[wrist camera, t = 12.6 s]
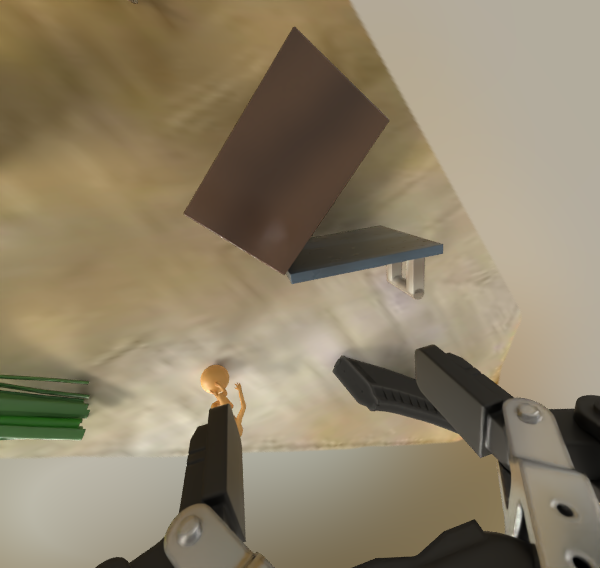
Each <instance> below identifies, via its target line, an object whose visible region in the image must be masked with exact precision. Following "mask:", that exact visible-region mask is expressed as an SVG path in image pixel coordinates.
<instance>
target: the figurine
mask: <svg viewBox="0 0 600 568" xmlns="http://www.w3.org/2000/svg"><path fill="white" fill-rule="evenodd" d="M228 383H229V374H228V371H227V370H226V369H225V368H224V367H223V366H220V365H212V366H209V367H208V368H206V369H205V370H204V372H203V373H202V376H201V385H202V387H203V389H204V390H205V391H206V392H208V393H211V394H214V395H215V396H216V398H217V399H218V401H216V402H215V403H213V404H212V406H211V408H214V407H217V406H220V405H224V404H228V403H229V404H230V406H231V409H232V408H233V404H232V403H231V402H230V401H229V400H228V398H227V397H226V396H227V391H226V389H225V388H226V387H227V385H228ZM237 384H238V383H237ZM235 385H236V384H235ZM236 386H237V388H235V389H237V390H239V397H240V401H241V406H242V408H241V410H240V412H239V414H238V416H237V418H236V417H235V416H234V418H235V421H236V424H237V427H238V430H239V434H240V437H241V435H242V432H243V428H242V425H241V422H242V417H243V415H244V412H245V409H246V404H245V401H244V397H243V394H242V390H241V385H240V383H239V384H238V385H236ZM221 391H222V393H220V394H218V393H219V392H221Z"/></svg>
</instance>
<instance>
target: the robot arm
mask: <svg viewBox="0 0 600 568" xmlns="http://www.w3.org/2000/svg"><path fill="white" fill-rule="evenodd" d="M415 373H416V382H417V385H418V387H419V389H420V391H421V392H422V393H423V395H424V396H425V397H426V398H427V399H428V400H429V401H430V402H431V403H432V405H433V406H434V407H435V408H436V409H437V410H438V411H439V412H440V413H441V415H442V416H443V417H444V418H445V419H446V420H447V421H448V422H449V423H450V424H451V426H452V427H453V428H454V429H455V430H456V431H457V432H458V433H459V434H460V436H461V437H462V438H463V439H464V440H465V441H466V442H467V443H468V444H469V446H470V447H472V449H473V450H474V451H475V452H476V453H477V454H478V456H479V457H480V458H481V457H484V456H487V455H490V454H493V455H494V456H495V457H496V458H497V471H498V477H499V485H500V491H501V498H502V505H503V510H504V519H505V534H502V533H497V532H489V531H483V530H482V529H481V527H480V526H479V524H478V523H477V522H476V520H472V521H469V522H467V523H464V524H461V525H459V526H456V527H454V528H452V529H449V530H446V531H444V532H443V533H442V534H440V535H439V536H438V537H437V538H436V539H435V540H434V541H433V542H432V543H430V544H429V545H428V546H427V547H426V548H425V549H424V550H423V551H422V552H420V553H419V554H418V555H416V556H413V557H394V558H375V559H373V560H370V561H368V562H365V563H363V564H360V565H358V566H355V567H353V568H600V504H599V503H600V396H595V395H586V396H582V397H580V398H578V399H577V401H576V405H575V409H547V408H546V407H545V406H543V405H542V404H540V403H537V402H535V401H532V400H529V399H525V398H514V397H512V396H511V395H510V394H509V393H507V392H506V391H505V390H503V389H502V388H501V387H499V386H498V385H497V384H496V383H494V382H493V381H492V380H490V379H489V378H488V377H486V376H485V375H484V374H481V372H480V371H479V370H477V369H476V368H475V367H474V368H473V366H472V365H471V364H469V363H468V362H467V361H465V360H464V359H463V358H461V357H459V356H456V355H454V354H451V353H444V352H443V351H442V350H441V349H439V348H438V347H437V346H435V345H429V346H426V347H422V348H419V349H416V351H415ZM245 539H246V538H245V515H244V490H243V464H242V445H241V439H240V434H239V430H238V427H237V424H236V421H235V418H234V415H233V412H232V409H231V406H230V404H229V403H228V404H224V405H221V406H217V407H214V408H211V409H210V410H209V417H208V424H206V425H202V426H199V427H198V428H197V429H196V431H195V433H194V435H193V436H192V438H191V440H190V447H189V455H188V459H187V467H186V472H185V479H184V485H183V491H182V498H181V504H180V510H179V514H178V515H177V516H176V517H175V518H174V520H173V521H172V523H171V524H170V526H169V527H168V530H167V532H166V535H165V537H164V538H163V539H162V540H161V541H160V542H158V543H157V544H156V545H155V546H153V547H152V548H150V549H149V550H147V551H146V552H145V553H143V554H142V555H140V556H139V557H137V558H136V559H135V560H133V561H132V562H130V563H129V562H128V561H127V560H125V559H124V558H120V557H116V558H111V559H109V560H106V561H104V562H103V563H101V564H100V565H98V566H97V567H96V568H275V567H273V565H272V564H271V563H270V562H269V561H268V560H267V559H266V558H265V557H264V556H263V555H262V554H260V553H258V552H256V553H253V552H252V551H251V550H249V548H248V547H247V546H246V545H245V544H244V543H243V542H245V541H246V540H245Z"/></svg>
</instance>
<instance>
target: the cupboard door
mask: <svg viewBox="0 0 600 568" xmlns="http://www.w3.org/2000/svg"><path fill="white" fill-rule="evenodd" d="M438 254H443V244H440V243H437V242H434V241H430V240H427V239H424V238H420V237H417V236H414V235H410V234H407V233H404V232H400V231H397V230H393V229H390V228H387V227H383V226H375V227H370V228H364V229H358V230H353V231H347V232H342V233H336V234H330V235H325V236H319V237H314V238H310V239H309V240H308V242H307V243H306V245H305V246H304V248H303V249H302V250H301V252H300V253H299V255H298V256H297V258H296V259H295V261H294V262H293V264H292V265H291V267H290V268H289V270H288V271H287V273H286V275H287V277H288V278H289V280H290V282H291V283H292V284H294V283H299V282H304V281H309V280H314V279H319V278H324V277H329V276H334V275H339V274H344V273H349V272H354V271H359V270H364V269H369V268H374V267H379V266H384V265H386V271H387V281H388V282H389V283H391V284H392V285H394V286H395V287H397V288H398V289H400V290H402V291H403V292H405V293H406V294H408V295H409V296H411V297H412V298H414V299H421V298H422V297H423V295H424V270H425V257H428V256H433V255H438ZM404 261H406V279H404V278H403V277H402V262H404Z"/></svg>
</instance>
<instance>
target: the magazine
mask: <svg viewBox="0 0 600 568" xmlns="http://www.w3.org/2000/svg"><path fill="white" fill-rule="evenodd" d="M334 367H335V368H334V369H333V373H334V374H335V375H336V376H337V378H338V379H339V380H340V381H341V383H342V384H343V385H344V386H345V387H346V389H347V390H348V391H349V392H350V394H351V395H352V396H353V397H354V398H355V400H356V401H357V402H358V403H359V404H361V405H364V406H367V407H368V409H369V410H370V411H386V412H391V413H396V414H400V415H404V416H407V417H411V418H414V419H418V420H422V421H425V422H428V423H431V424H434V425H437V426H439V427H442V428H445V429H448V430H450V431H453V432H455V433H458V432H457V431H456V430H455V429H454V428H453V427H452V426H451V424H450V423H449V422H448V421H447V420H446V419H445V418H444V417H443V416H442V415H441V413H440V412H439V411H438V410H437V409H436V408H435V407H434V406H433V405H432V403H431V402H430V401H429V400H428V399H427V398H426V397H425V396H424V395H423V393H422V392H421V391H420V389H419V387H418V385H417V382H416V380H415V379H412V378H410V377H407V376H404V375H402V374H399V373H396V372H393V371H390V370H387V369H384V368H381V367H378V366H374V365H371V364H367V363H364V362H360V361H357V360H354V359H350V358H347V357H345V356H341V357H340V359H338V361H337V362H336V364H335V366H334ZM458 434H459V433H458Z"/></svg>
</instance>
